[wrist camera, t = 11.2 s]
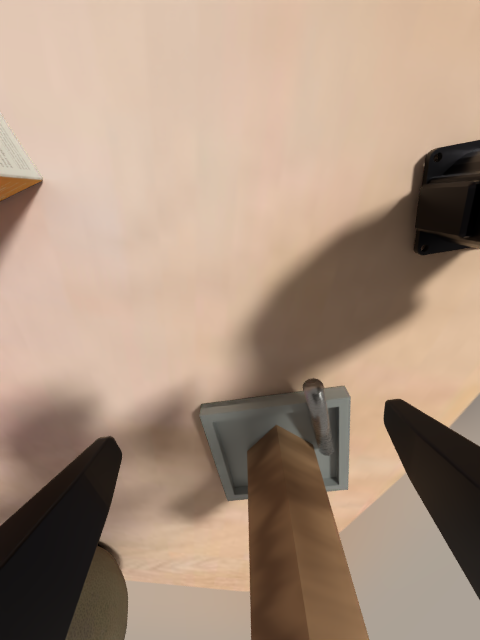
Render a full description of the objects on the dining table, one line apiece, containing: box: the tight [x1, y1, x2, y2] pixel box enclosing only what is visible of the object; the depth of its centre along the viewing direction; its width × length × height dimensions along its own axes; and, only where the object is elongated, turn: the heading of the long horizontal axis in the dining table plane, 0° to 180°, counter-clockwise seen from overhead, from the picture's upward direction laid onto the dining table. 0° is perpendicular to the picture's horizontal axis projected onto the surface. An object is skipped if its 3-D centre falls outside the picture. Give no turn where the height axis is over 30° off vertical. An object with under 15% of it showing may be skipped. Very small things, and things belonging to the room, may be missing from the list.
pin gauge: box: [303, 378, 335, 456], centre depth 23 cm, size 10×2×2 cm
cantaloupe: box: [66, 546, 128, 640], centre depth 31 cm, size 14×14×15 cm
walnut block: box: [247, 425, 369, 640], centre depth 21 cm, size 5×5×14 cm
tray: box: [199, 386, 351, 501], centre depth 27 cm, size 14×14×2 cm
